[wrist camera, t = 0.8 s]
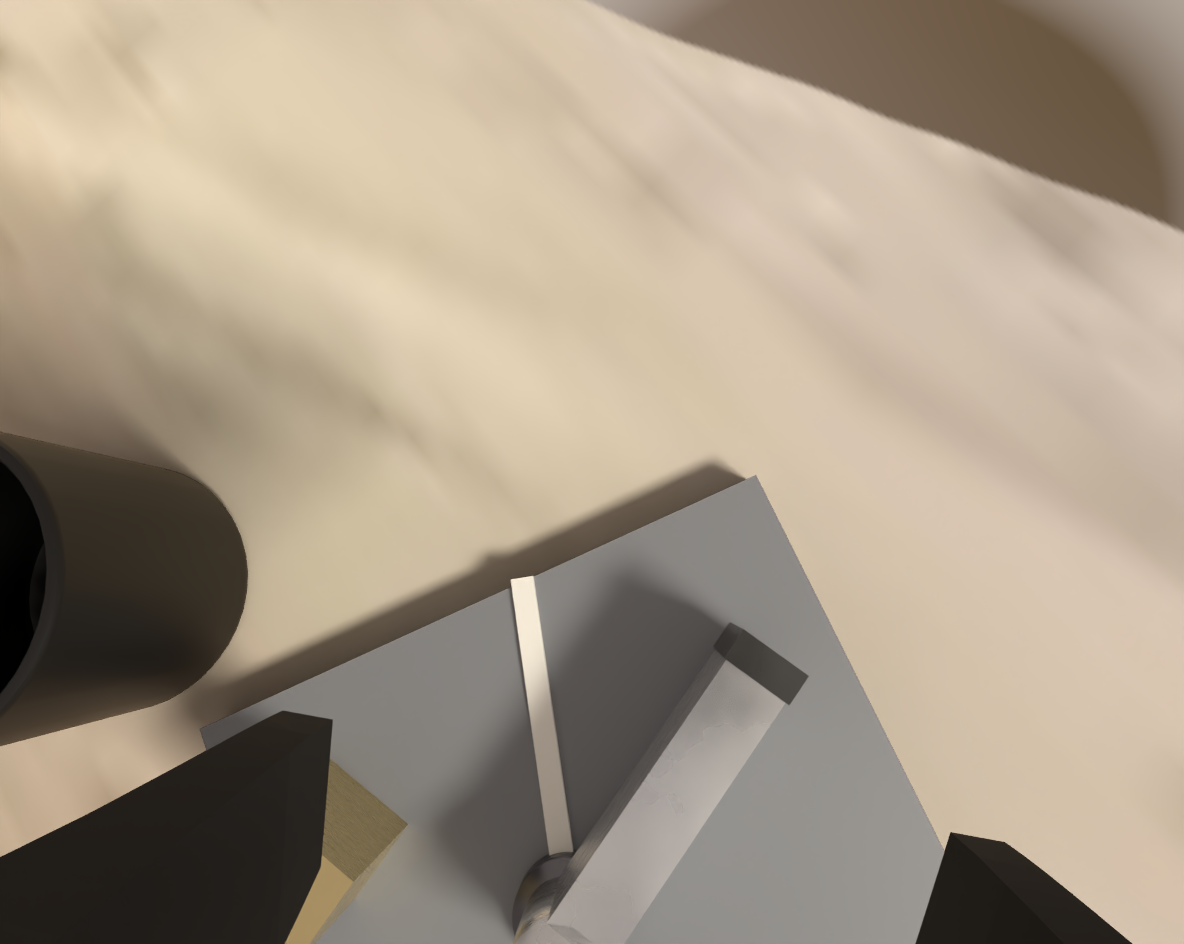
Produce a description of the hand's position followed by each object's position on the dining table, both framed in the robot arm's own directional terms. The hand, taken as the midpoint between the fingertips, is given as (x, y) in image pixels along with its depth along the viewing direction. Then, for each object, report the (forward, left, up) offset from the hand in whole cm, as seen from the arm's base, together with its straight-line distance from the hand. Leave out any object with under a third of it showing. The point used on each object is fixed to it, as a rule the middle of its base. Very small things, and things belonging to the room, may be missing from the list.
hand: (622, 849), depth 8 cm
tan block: (-1, +12, -16) cm, 20 cm away
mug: (+12, +17, -18) cm, 27 cm away
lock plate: (-4, +4, -18) cm, 19 cm away
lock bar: (-4, +1, -15) cm, 16 cm away
